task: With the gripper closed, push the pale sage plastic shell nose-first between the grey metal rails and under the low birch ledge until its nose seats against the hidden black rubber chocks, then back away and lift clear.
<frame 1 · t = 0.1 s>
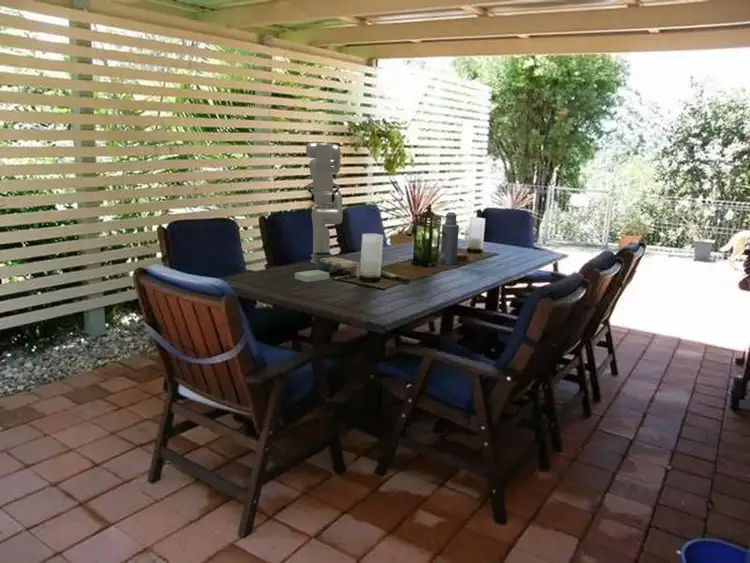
hand: (322, 202, 300), 37 cm above the table, tool pointing down, fingers open, 9 cm apart
shell: (312, 278, 296), on the table
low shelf: (337, 275, 306), on the table
flower pot: (322, 270, 319), on the table
bottle: (448, 263, 346), on the table
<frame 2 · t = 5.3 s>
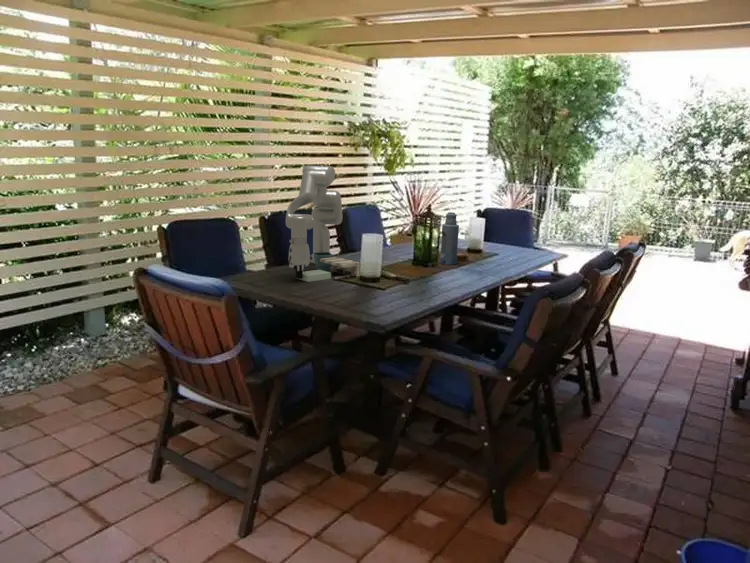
hand: (299, 278, 291), 1 cm above the table, tool pointing down, fingers closed
shell: (313, 278, 297), on the table, touching gripper
everything else where it was.
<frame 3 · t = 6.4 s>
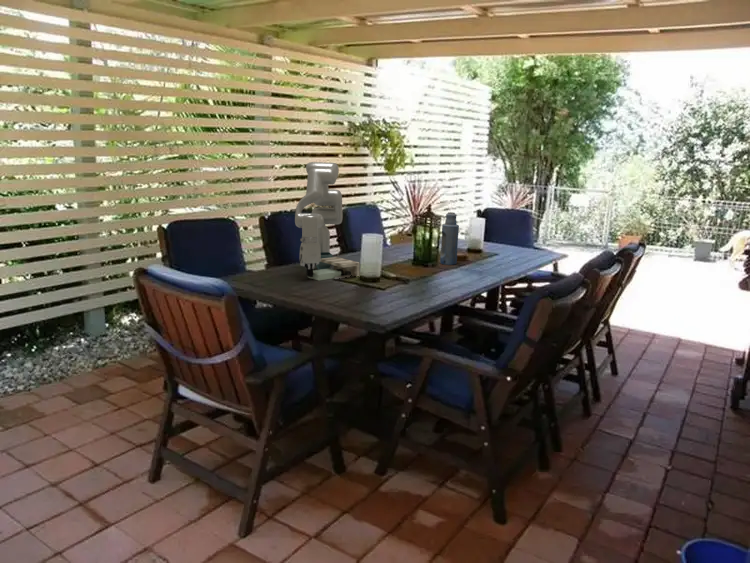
hand: (309, 276, 294), 1 cm above the table, tool pointing down, fingers closed
shell: (324, 277, 300), on the table, touching gripper
everything else where it was.
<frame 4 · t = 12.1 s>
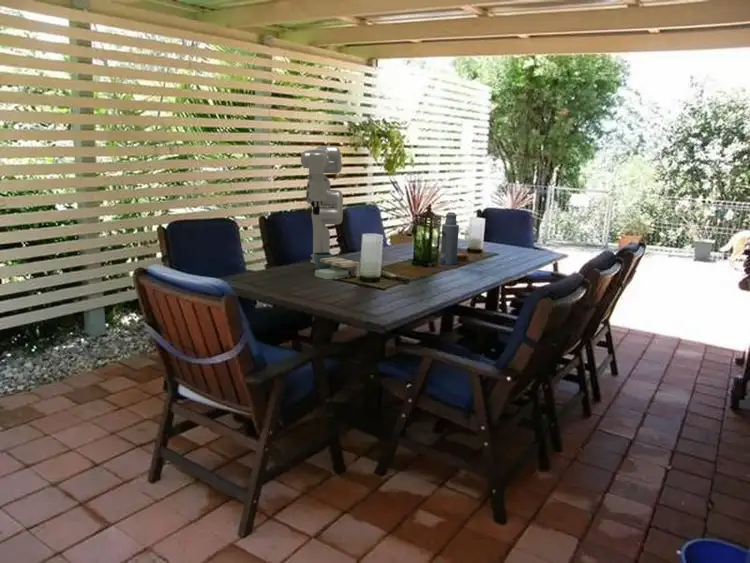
hand: (316, 214, 300), 31 cm above the table, tool pointing down, fingers closed
shell: (331, 276, 303), on the table
everything else where it was.
at the end: shell 0.4 cm from the target spot, on the table; shell tilted 0° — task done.
